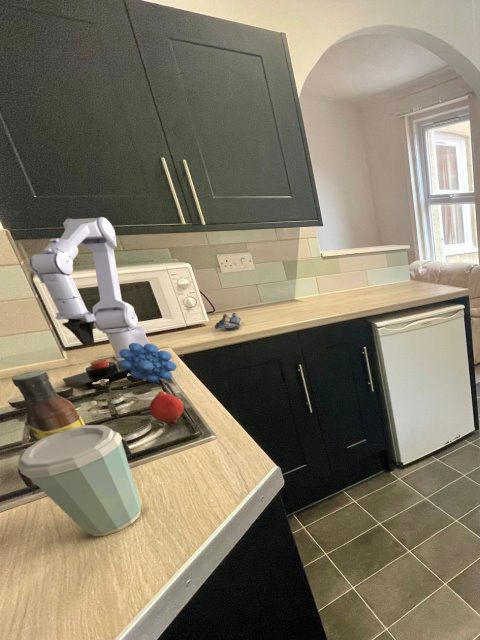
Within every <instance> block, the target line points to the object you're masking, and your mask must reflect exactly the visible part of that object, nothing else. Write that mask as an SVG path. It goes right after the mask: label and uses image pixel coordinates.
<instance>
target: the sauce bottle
mask: <svg viewBox="0 0 480 640" xmlns="http://www.w3.org/2000/svg"><path fill="white" fill-rule="evenodd" d="M11 381H12V384H13V385H14V386H15V387H16V388H18V390H19V391H20V394H21V395H22V396H23V399H24V402H25V412H26V424H27V425H28V427H29V429H30V430H31V432H32V433H33V435H34V436H35V438H36V440H37V442H38V441H39V440H41V439H43V438H46V437H48V436H51V435H53V434H56V433H59V432H62V431H65V430H68V429H72V428H76V427H80V426H84V425H86V424H85V421H84V420H83V418H82V417H81V415H80V414H79V413H78V411H77V409H76V407H75V405H74V403H72V402H71V401H70V400H68V399H67V398H65V397H62V395H61V396H60V395H59V394H58V393H57V390H56V389H55V388H54V387H53V385H52V383H51V381H50V377H49V374H48V373H47V371H46V370H43V369H36V370H35V369H34V370H30V371H25V372H22V373H19V374H16V375H14V376H12V377H11Z"/></svg>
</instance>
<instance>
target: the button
mask: <svg viewBox="0 0 480 640" xmlns="http://www.w3.org/2000/svg"><path fill="white" fill-rule="evenodd" d="M108 362H109V361H108V359H97V360H94V361H91V362H90V366H92V368H93V369H97V368H102V367H106V366H108V365H109V363H108Z"/></svg>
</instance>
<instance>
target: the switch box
mask: <svg viewBox="0 0 480 640" xmlns="http://www.w3.org/2000/svg"><path fill="white" fill-rule="evenodd" d="M120 362H121V361H116V362H115V361H108V363H109V365H108V366H106V367H102V368H97V369H93V368H92V366H91V365H90V366H88V367H86V368H85V372H81V373H78V374H75V375H71V376H68V377H65V378H62V381H63V383H64V385H65V386H66V387H68V388H69V387H70V388H75V389H80V390H86V391H91V390H94V389H97V388H98V387H93V385H92V383H93V382H97V381H99V380H101V379H109V382H110V383H109V384H112V383H114V382H117V381H120V380H124V379H127V378H128V377H127V374H128V373H129V374H131V373H130V372H131V370H126V369H124V368H122V367H121V365H120Z"/></svg>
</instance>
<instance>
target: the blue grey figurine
mask: <svg viewBox="0 0 480 640" xmlns="http://www.w3.org/2000/svg"><path fill="white" fill-rule="evenodd" d="M241 324H243V322H242V317H241V316H240V314H238V313H236V312H233V313H231V316H230V315H228V314H227V313H224V314H223V315H222V319H219V321H218V322H216V323H215V325H214V328H215V330H218V329H224V330H225V329H226V331H233V330H239V329H240V325H241Z"/></svg>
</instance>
